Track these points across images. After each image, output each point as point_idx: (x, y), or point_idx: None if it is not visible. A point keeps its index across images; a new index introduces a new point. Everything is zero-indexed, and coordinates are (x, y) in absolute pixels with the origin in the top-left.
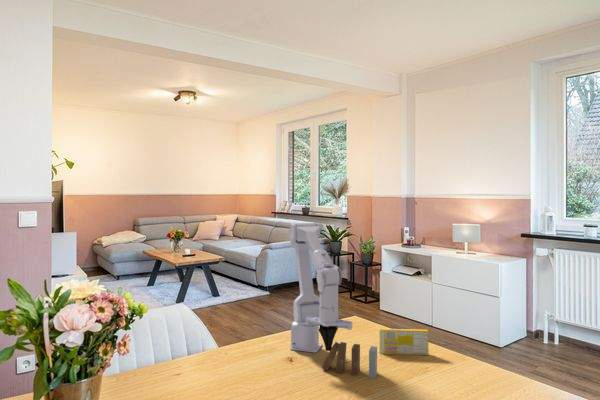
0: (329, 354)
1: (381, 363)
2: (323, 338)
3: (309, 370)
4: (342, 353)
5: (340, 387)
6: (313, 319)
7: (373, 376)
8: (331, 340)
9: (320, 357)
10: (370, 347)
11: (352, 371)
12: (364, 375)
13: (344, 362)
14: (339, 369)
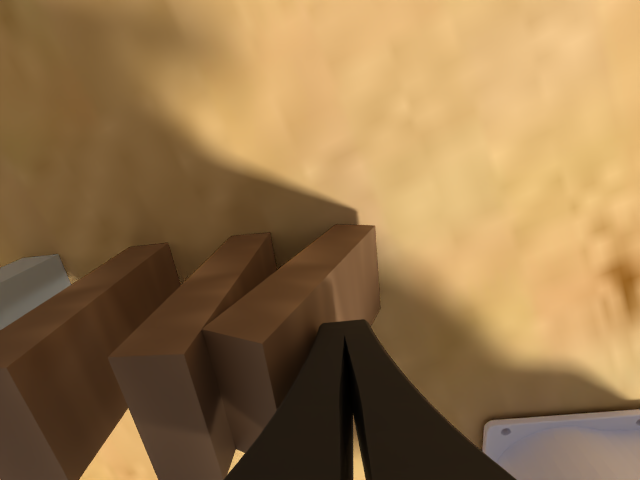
0: (311, 281)
1: None
2: (426, 417)
3: (454, 184)
4: (164, 310)
5: (136, 14)
6: None
7: (21, 261)
8: (275, 416)
9: (440, 382)
10: None
11: (148, 252)
12: None
13: None
14: (240, 242)
